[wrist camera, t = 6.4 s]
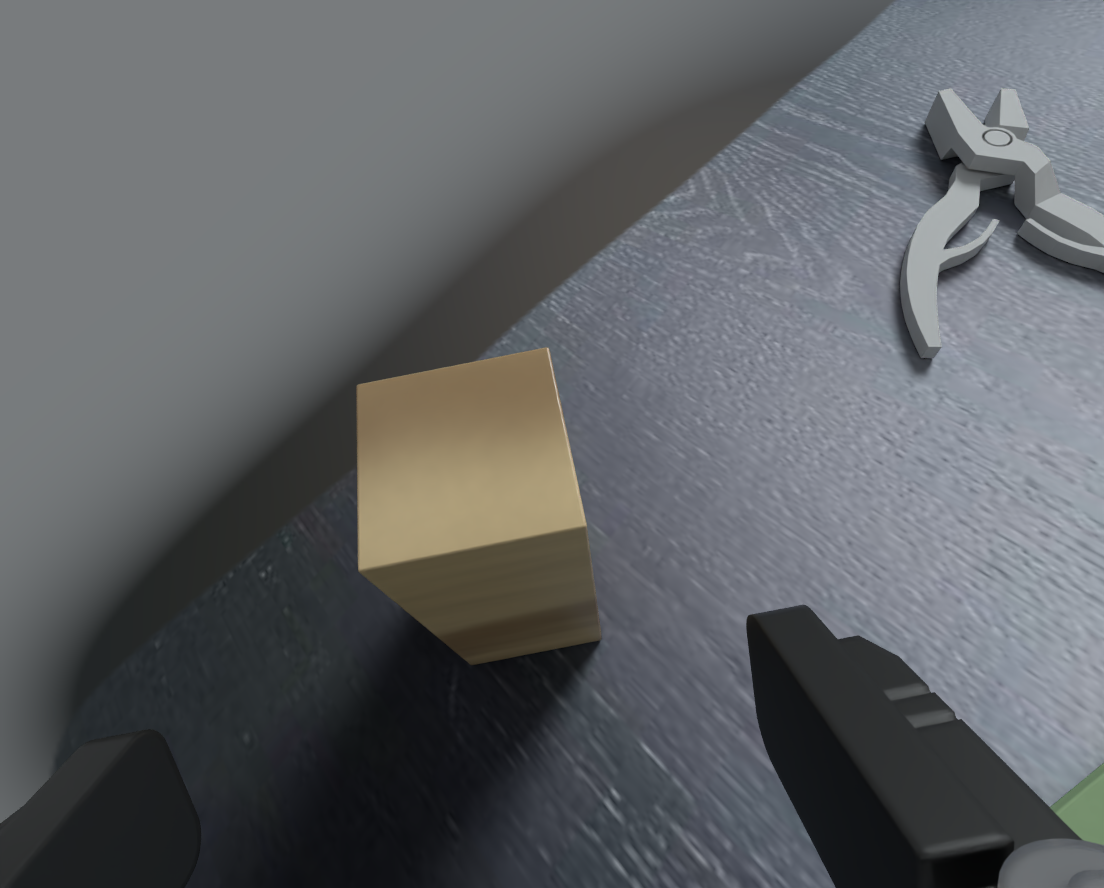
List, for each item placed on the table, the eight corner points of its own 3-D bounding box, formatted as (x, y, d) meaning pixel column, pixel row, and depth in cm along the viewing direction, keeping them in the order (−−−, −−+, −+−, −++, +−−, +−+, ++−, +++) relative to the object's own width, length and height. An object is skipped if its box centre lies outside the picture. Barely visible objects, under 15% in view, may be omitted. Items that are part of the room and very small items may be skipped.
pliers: (931, 332, 23) (867, 92, 30) (913, 358, 24) (856, 122, 31) (1232, 333, 22) (1090, 82, 29) (1195, 360, 23) (1068, 114, 30)
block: (602, 640, 20) (586, 527, 12) (470, 666, 20) (356, 572, 12) (577, 518, 22) (548, 346, 14) (458, 541, 22) (355, 384, 14)
